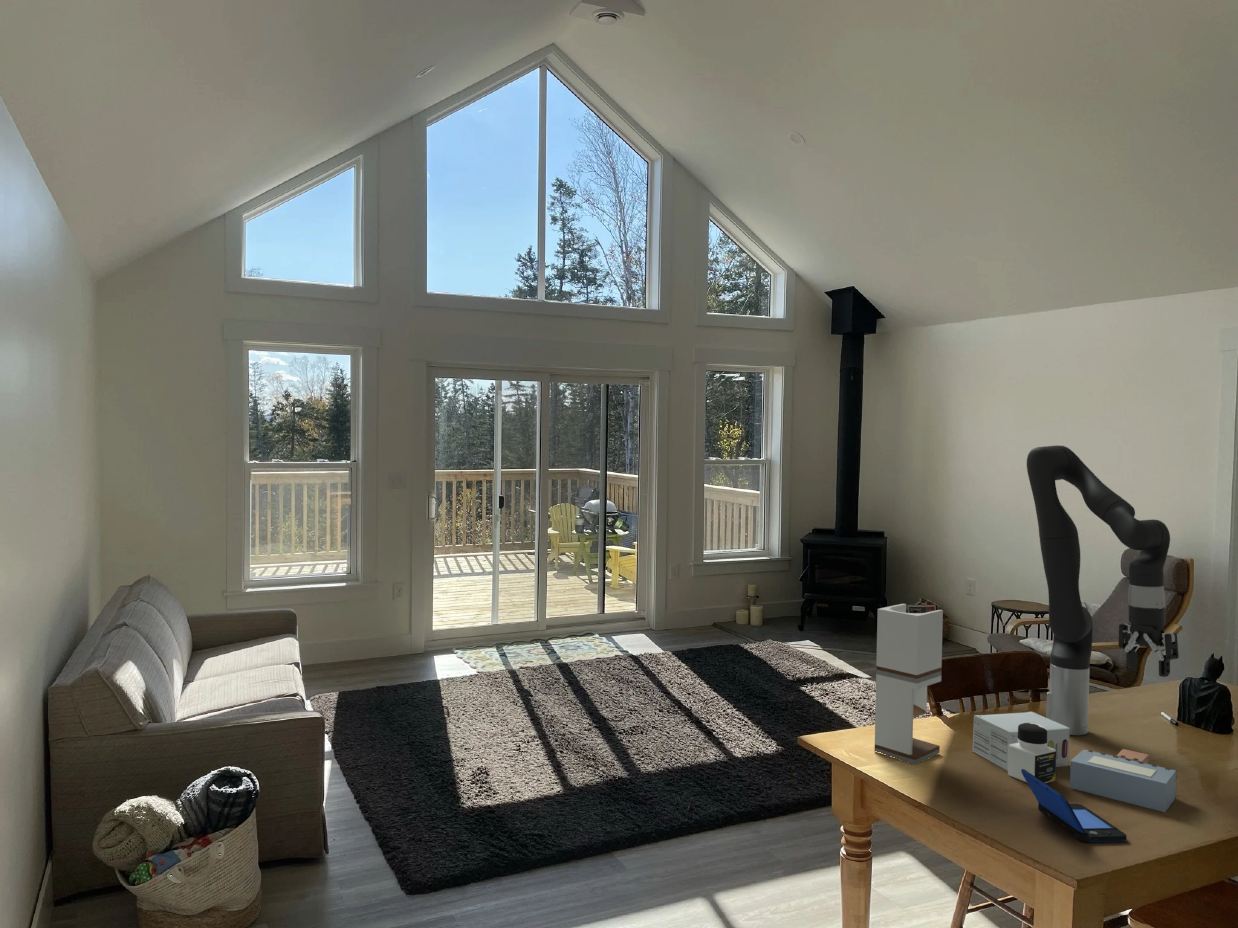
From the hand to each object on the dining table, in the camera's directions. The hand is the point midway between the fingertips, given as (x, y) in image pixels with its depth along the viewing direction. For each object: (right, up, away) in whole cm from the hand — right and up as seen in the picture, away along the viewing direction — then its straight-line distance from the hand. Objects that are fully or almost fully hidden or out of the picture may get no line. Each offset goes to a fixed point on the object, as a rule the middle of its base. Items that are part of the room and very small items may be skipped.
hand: (1148, 671), depth 207 cm
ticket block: (-17, -22, -19) cm, 33 cm away
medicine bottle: (-33, -22, -11) cm, 41 cm away
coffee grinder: (-56, -21, +4) cm, 60 cm away
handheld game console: (-36, -23, -35) cm, 55 cm away
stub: (-11, -22, -12) cm, 27 cm away
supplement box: (-30, -22, +1) cm, 37 cm away
